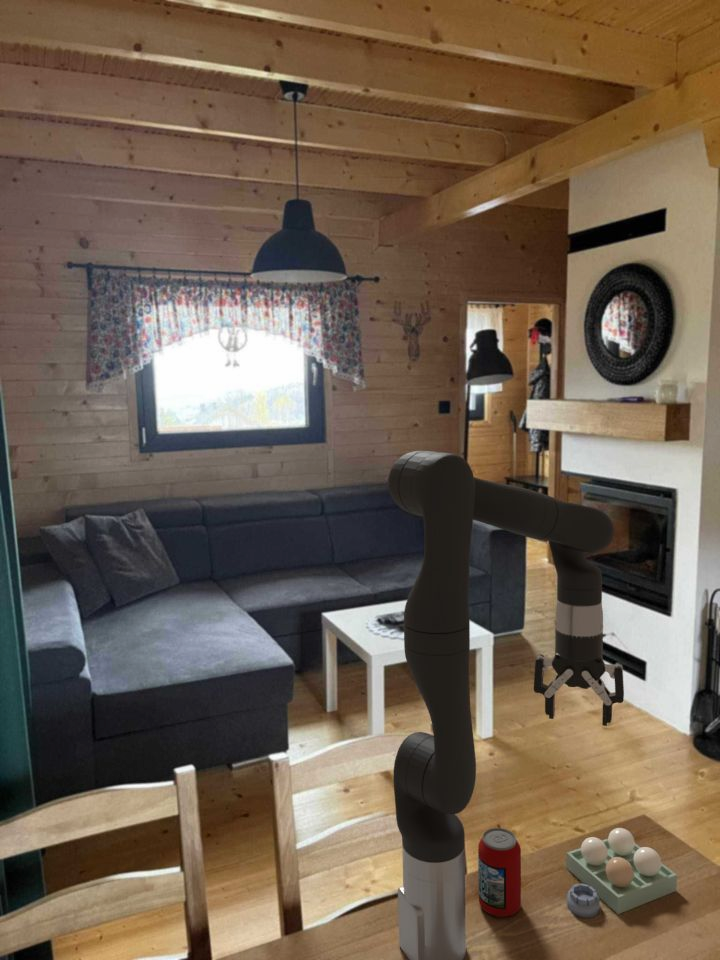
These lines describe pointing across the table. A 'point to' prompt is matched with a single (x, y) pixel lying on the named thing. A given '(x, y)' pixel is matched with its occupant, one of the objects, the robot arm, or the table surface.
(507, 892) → the beverage can
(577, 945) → the table surface
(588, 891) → the egg cup
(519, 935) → the table surface
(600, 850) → the white egg
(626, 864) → the brown egg
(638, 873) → the egg carton
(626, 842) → the white egg
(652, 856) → the white egg
